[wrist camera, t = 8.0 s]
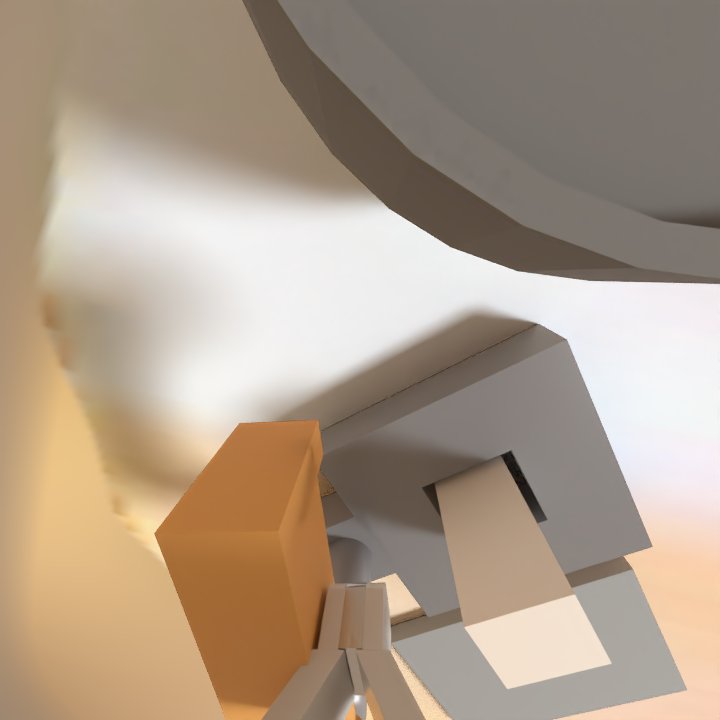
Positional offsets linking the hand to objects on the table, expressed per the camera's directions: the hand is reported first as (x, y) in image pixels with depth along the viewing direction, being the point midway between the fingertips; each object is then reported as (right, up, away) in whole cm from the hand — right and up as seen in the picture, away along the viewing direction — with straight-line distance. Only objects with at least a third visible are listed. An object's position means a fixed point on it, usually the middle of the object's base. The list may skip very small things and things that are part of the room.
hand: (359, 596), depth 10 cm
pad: (+14, -16, +17) cm, 28 cm away
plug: (+7, 0, +12) cm, 14 cm away
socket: (+5, -1, +13) cm, 14 cm away
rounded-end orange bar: (-2, -2, +3) cm, 4 cm away
